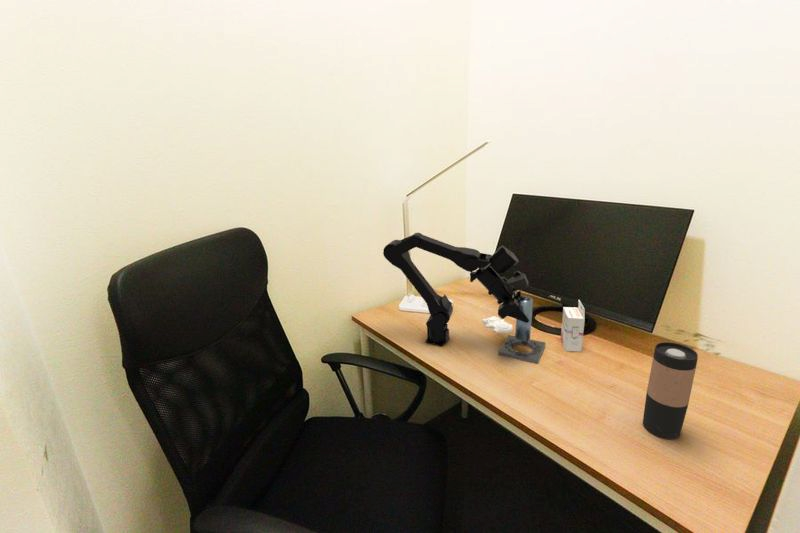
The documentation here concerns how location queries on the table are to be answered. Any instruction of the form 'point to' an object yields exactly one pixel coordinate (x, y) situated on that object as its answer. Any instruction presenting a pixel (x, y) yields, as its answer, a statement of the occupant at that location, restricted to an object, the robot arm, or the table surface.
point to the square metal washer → (529, 357)
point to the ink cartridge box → (573, 327)
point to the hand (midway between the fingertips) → (528, 318)
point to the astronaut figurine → (497, 325)
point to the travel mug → (669, 389)
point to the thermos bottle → (525, 328)
